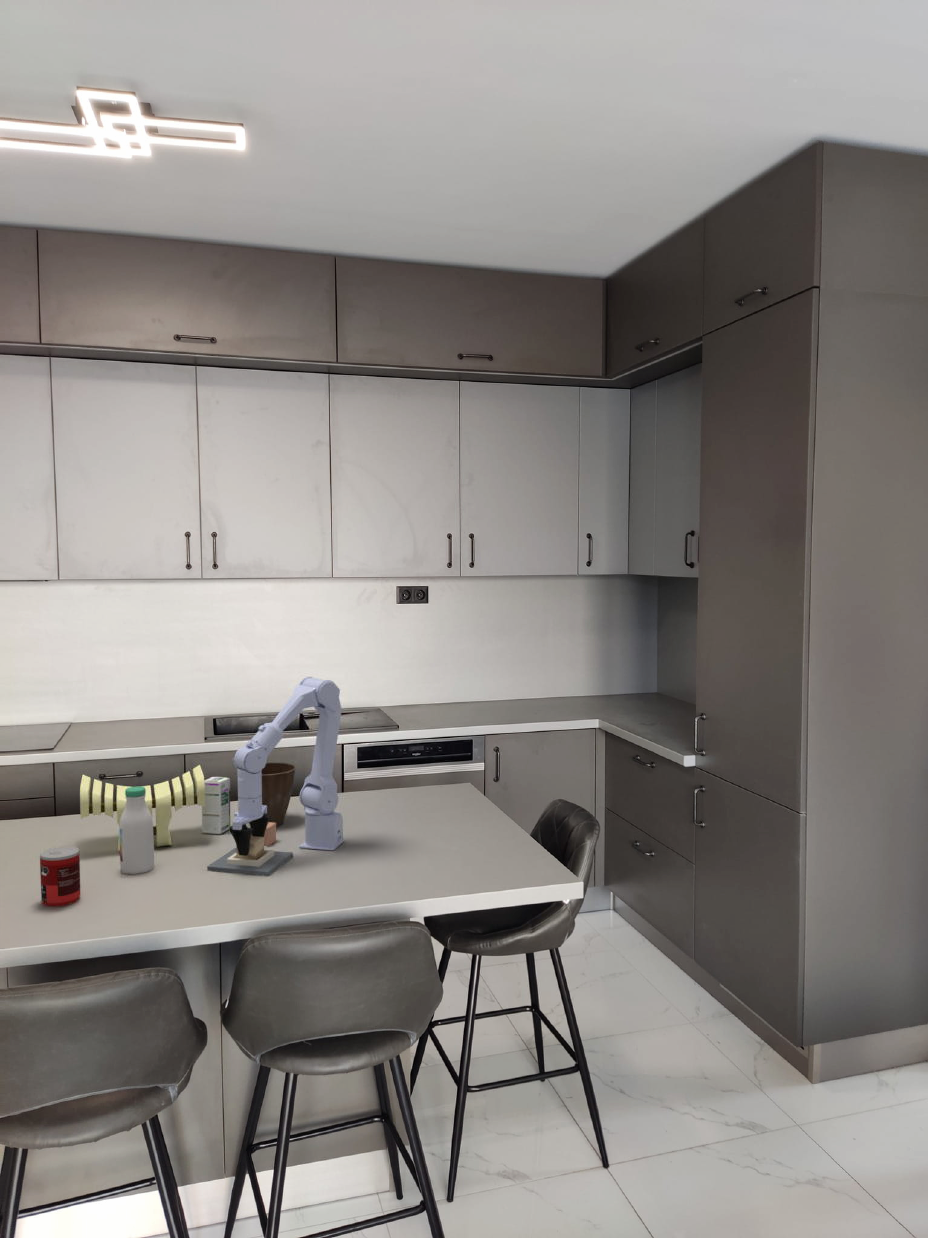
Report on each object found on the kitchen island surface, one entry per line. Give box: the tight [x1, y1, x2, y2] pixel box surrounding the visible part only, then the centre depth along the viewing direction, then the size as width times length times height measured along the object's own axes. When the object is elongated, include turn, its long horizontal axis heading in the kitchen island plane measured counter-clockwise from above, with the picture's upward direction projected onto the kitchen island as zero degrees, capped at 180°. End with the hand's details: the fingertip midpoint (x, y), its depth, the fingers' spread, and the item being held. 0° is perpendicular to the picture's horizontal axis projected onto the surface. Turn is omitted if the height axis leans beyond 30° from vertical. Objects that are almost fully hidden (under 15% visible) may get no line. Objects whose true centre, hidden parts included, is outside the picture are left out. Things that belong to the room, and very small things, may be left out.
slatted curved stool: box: [79, 764, 205, 852], centre depth 232 cm, size 30×16×18 cm, turn 111°
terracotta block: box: [249, 822, 277, 847], centre depth 231 cm, size 5×5×5 cm
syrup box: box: [201, 776, 231, 835], centre depth 241 cm, size 6×6×14 cm
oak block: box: [235, 836, 265, 860], centre depth 216 cm, size 5×5×5 cm
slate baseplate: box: [206, 847, 294, 877], centre depth 216 cm, size 16×14×2 cm
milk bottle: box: [118, 785, 155, 875], centre depth 211 cm, size 8×8×20 cm
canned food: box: [39, 845, 81, 908], centre depth 192 cm, size 8×8×11 cm
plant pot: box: [261, 762, 296, 827], centre depth 248 cm, size 15×15×16 cm
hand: (250, 850), depth 216 cm, fingers open, 7 cm apart
